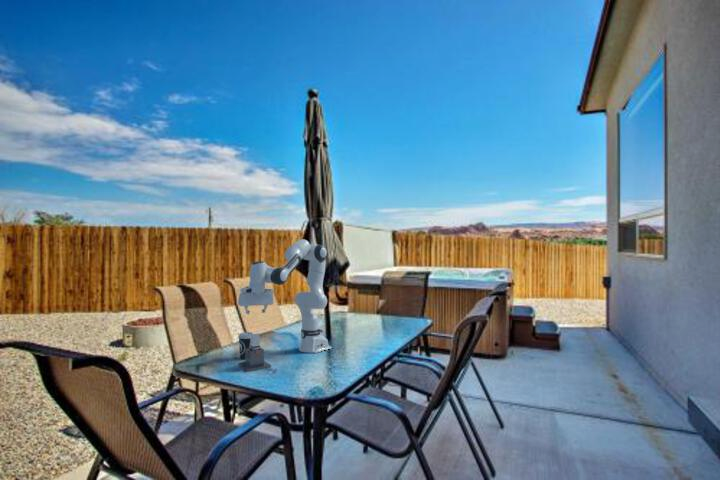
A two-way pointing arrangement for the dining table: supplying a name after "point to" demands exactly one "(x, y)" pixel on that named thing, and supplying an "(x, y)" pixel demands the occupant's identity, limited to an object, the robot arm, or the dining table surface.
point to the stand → (254, 360)
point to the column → (254, 342)
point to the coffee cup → (244, 343)
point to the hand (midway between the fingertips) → (255, 313)
